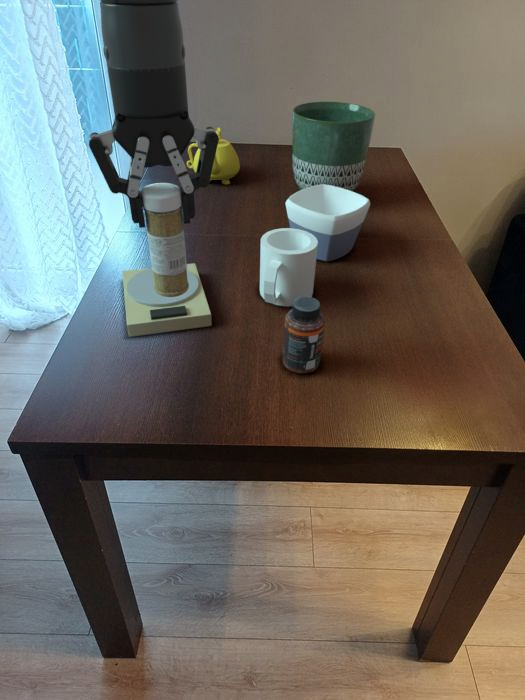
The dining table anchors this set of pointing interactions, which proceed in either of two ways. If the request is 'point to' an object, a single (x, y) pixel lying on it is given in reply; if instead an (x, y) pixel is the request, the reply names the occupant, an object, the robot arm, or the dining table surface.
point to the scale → (163, 304)
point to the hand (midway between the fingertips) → (164, 222)
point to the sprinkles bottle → (166, 238)
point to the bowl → (328, 217)
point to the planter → (330, 143)
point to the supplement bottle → (303, 335)
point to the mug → (287, 265)
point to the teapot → (219, 160)
